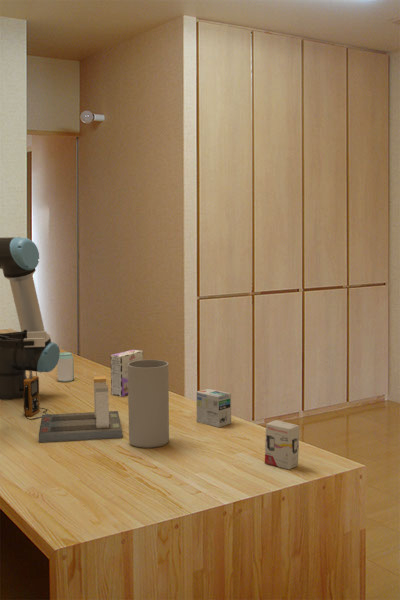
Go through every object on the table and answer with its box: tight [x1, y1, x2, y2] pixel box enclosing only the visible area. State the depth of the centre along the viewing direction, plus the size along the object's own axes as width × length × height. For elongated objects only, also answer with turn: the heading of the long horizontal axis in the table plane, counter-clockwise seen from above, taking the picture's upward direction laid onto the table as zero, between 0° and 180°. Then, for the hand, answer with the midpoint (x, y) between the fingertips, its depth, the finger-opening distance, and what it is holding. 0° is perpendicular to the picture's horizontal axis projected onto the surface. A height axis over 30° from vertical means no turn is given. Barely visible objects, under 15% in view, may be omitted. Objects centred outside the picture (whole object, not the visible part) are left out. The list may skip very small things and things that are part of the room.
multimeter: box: [23, 358, 49, 421], centre depth 249 cm, size 15×10×20 cm
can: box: [56, 351, 75, 383], centre depth 302 cm, size 7×7×12 cm
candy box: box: [110, 349, 144, 398], centre depth 280 cm, size 14×6×16 cm, turn 144°
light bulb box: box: [196, 388, 232, 428], centre depth 238 cm, size 11×7×11 cm, turn 47°
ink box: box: [264, 419, 301, 470], centre depth 197 cm, size 9×5×12 cm, turn 50°
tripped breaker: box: [93, 375, 107, 418], centre depth 237 cm, size 4×4×13 cm
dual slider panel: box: [38, 384, 123, 444], centre depth 231 cm, size 23×26×16 cm
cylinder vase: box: [127, 359, 170, 449], centre depth 217 cm, size 12×12×25 cm
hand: (45, 338), depth 232 cm, fingers open, 13 cm apart
